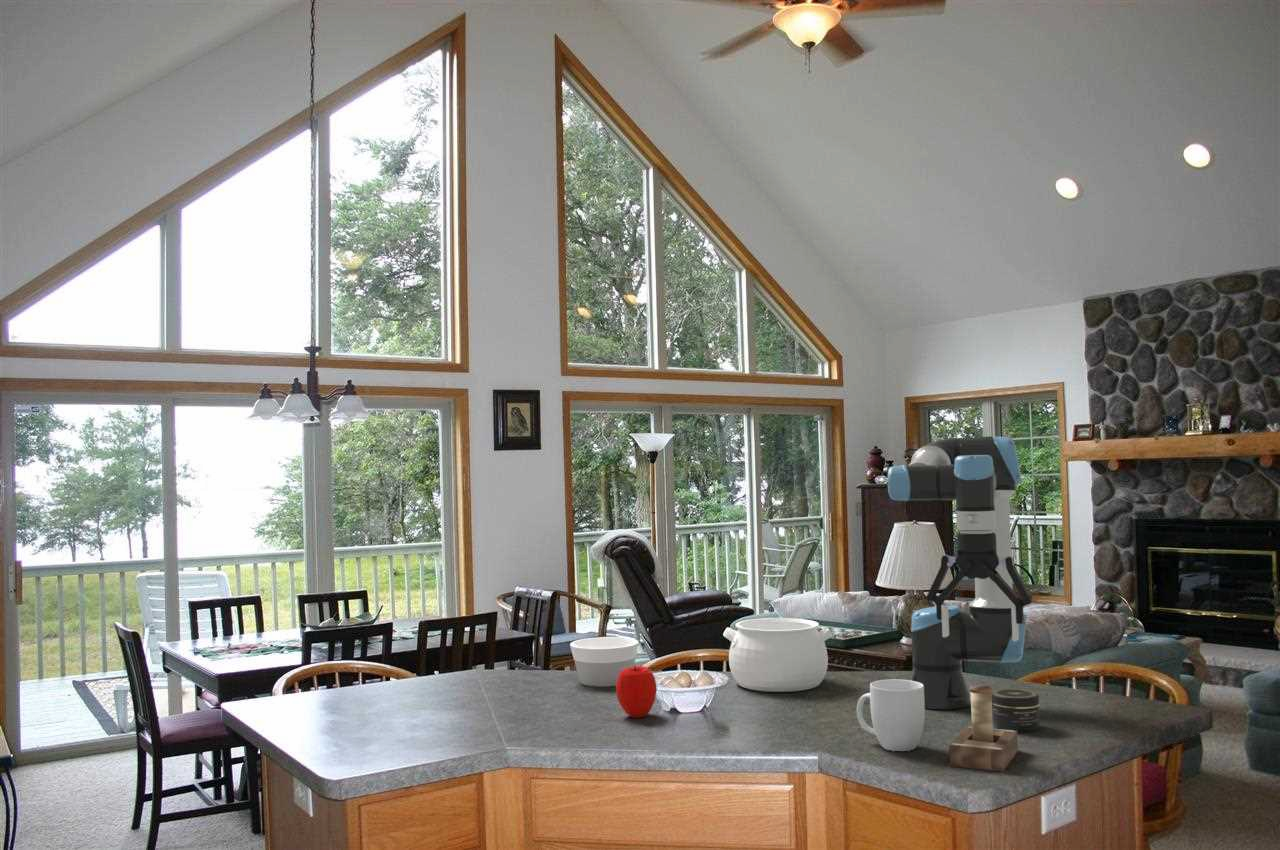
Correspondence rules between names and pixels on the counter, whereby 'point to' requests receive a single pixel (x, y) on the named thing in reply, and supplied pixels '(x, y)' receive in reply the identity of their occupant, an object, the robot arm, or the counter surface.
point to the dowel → (981, 713)
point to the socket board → (984, 750)
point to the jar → (1015, 709)
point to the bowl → (603, 659)
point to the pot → (778, 654)
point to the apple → (636, 690)
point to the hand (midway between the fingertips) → (980, 638)
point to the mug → (895, 713)
